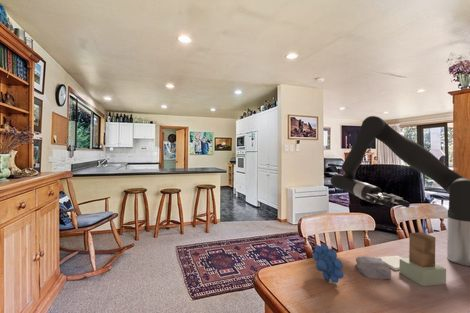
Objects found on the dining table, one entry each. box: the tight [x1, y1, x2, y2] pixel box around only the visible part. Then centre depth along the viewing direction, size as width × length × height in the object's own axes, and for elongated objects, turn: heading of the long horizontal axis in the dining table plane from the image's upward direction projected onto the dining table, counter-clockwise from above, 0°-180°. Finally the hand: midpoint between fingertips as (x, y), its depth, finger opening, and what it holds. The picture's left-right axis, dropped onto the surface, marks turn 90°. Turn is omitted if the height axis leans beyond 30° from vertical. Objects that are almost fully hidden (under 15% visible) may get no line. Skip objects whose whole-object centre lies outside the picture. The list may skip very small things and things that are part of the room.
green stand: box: [398, 257, 447, 287], centre depth 82 cm, size 9×9×5 cm
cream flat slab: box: [376, 255, 404, 272], centre depth 93 cm, size 10×9×1 cm
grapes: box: [312, 243, 344, 284], centre depth 80 cm, size 12×7×12 cm, turn 33°
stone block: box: [355, 255, 392, 280], centre depth 87 cm, size 12×5×10 cm
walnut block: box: [408, 232, 436, 268], centre depth 82 cm, size 5×5×10 cm
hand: (401, 205), depth 92 cm, fingers open, 8 cm apart
